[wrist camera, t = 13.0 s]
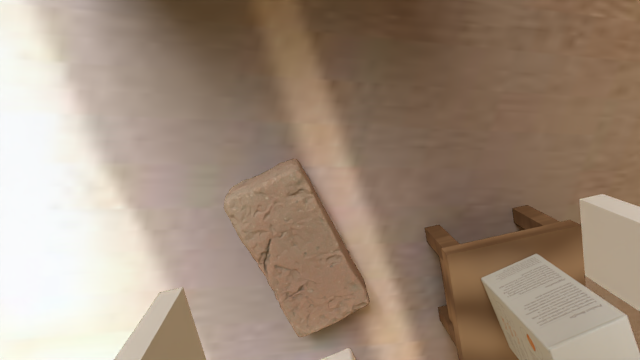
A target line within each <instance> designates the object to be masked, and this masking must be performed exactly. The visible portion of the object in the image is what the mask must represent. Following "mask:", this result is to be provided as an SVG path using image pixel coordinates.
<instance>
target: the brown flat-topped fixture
mask: <svg viewBox="0 0 640 360" xmlns="http://www.w3.org/2000/svg"><path fill="white" fill-rule="evenodd" d="M513 217H514V222H515V223H516V224H518V225H519V226H521V227H523V228H524V229H526V230H522V231H517V232H513V233H508V234H504V235H499V236H495V237H490V238H486V239H481V240H477V241H472V242H468V243H464V244H459V243H458V242H457V241H456V240H455V239H454V238H453V237H452V236H451V235H450V234H449V233H448V232H447V231H445V230H444V229H443V228H442V227H441V226H440V225H435V226H431V227H426V228H425V232H426V238H427V242H428V243H429V245H430V246H431V247H432V248H433V249H434V251H435V252H436V253H437V254H438V255H439V258H440V264H441V271H442V277H443V283H444V289H445V296H446V302H447V305H446V306H441V307H438V311H439V317H440V321H441V322H442V324H443V325H444V327H445V329H446V330H447V332H448V334H449V335H450V337H451V339H452V340H453V342H454V343H455V345H456V347H457V351H458V357H459V360H518V358H517V356H516V355H515V354H514V353H513V351H512V350H511V349H510V347H509V345H508V342H507V340H506V337H505V335H504V333H503V330H502V328H501V326H500V323H499V321H498V318H497V316H496V313H495V311H494V309H493V306H492V304H491V302H490V299H489V297H488V295H487V292H486V290H485V287H484V285H483V283H482V281H481V278H482V277H485V276H487V275H489V274H491V273H494V272H496V271H498V270H500V269H503V268H505V267H507V266H509V265H512V264H514V263H516V262H518V261H521V260H523V259H525V258H527V257H530V256H532V255H534V254H538V255H540V256H541V257H543V258H544V259H546V260H547V261H549V262H550V263H551V264H553V265H554V266H556V267H557V268H559V269H560V270H562V271H563V272H565V273H566V274H568V275H569V276H571V277H572V278H573V279H575V280H576V281H578V282H579V283H581V284H582V285H584V286H585V273H584V259H583V245H582V232H581V225H580V224H578V223H575V222H573V221H571V220H567V221H562V222H559V221H557V220H555V219H554V218H552V217H550V216H548V215H546V214H544V213H542V212H540V211H538V210H536V209H534V208H532V207H530V206H528V205H525V206H521V207H516V208H513ZM585 287H586V286H585Z"/></svg>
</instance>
